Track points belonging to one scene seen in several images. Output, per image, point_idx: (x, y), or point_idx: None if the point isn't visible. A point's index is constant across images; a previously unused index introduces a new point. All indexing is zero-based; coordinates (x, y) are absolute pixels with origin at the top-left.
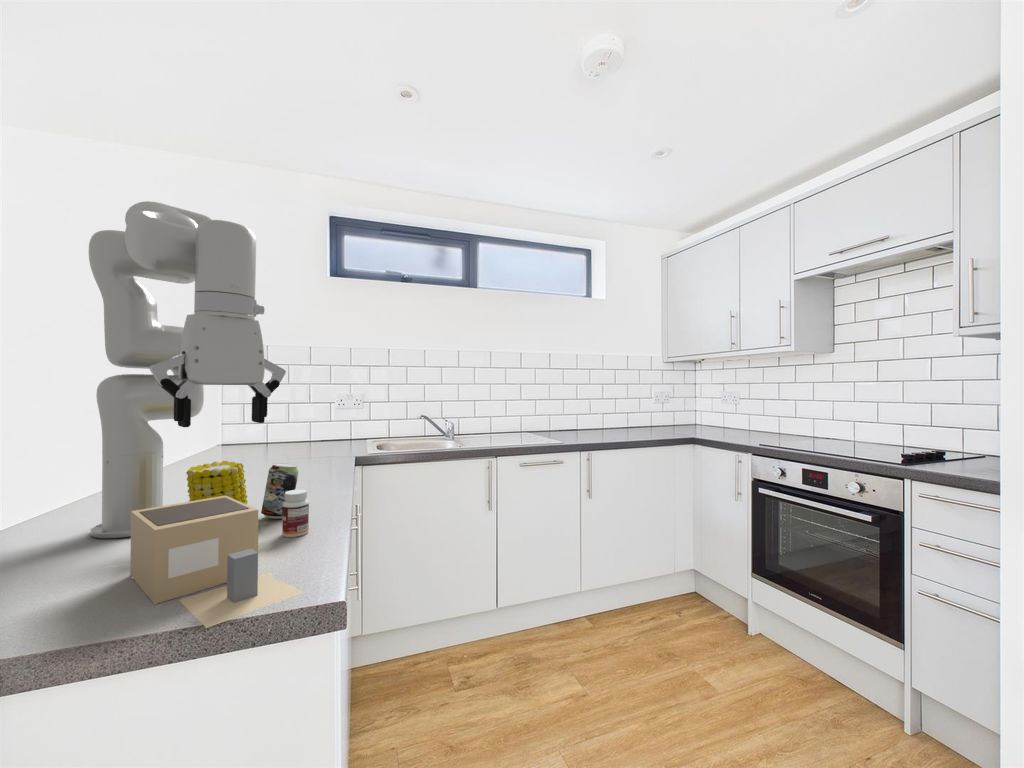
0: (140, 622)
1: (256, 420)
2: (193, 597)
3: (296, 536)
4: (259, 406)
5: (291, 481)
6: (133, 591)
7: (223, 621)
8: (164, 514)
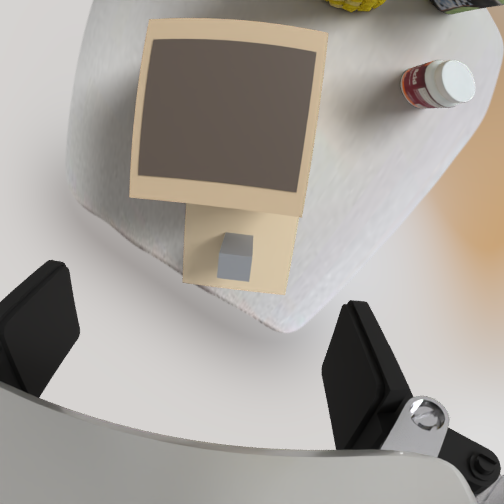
0: (144, 214)
1: (328, 353)
2: None
3: (410, 103)
4: (332, 422)
5: (488, 4)
6: None
7: (198, 284)
8: (171, 98)
